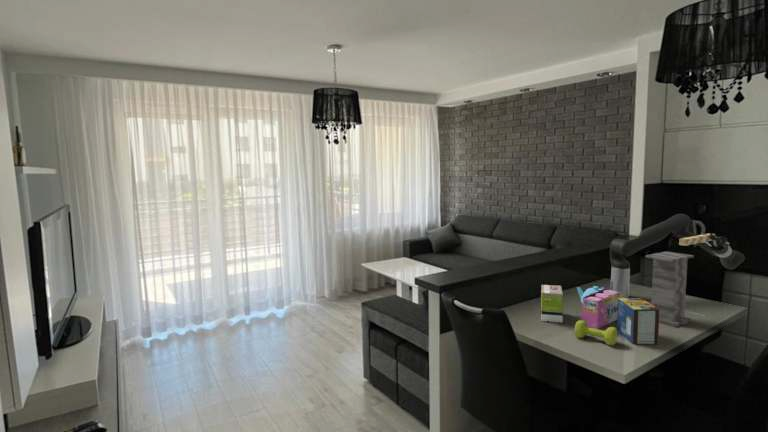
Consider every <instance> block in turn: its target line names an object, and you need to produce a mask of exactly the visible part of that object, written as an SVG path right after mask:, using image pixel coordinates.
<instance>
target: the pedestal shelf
mask: <svg viewBox="0 0 768 432" xmlns="http://www.w3.org/2000/svg"><path fill="white" fill-rule="evenodd" d="M644 257H645V258H647V259H652V281H651V300H650V301H651V302H650V304H652V305H653V306H655V307H657V308H658V309H660V310H659V324H662V325H666V326H668V327H671V328H676V327H680V326H682V325H685V324H688V323H692V318H690V317H687V316H685V308H686V294H687V275H688V259H693V258H694V257H695V256H694V255H693V254H687V253H680V252H673V251H667V250H666V251H662V252H657V253H655V252H654V253H651V254H646V255H645V256H644Z"/></svg>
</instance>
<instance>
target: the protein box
mask: <svg viewBox="0 0 768 432" xmlns="http://www.w3.org/2000/svg"><path fill="white" fill-rule="evenodd" d="M659 310H660V309H658V308H657V307H655V306H653V305H652V304H651V302H649V301H647V300H645V299H644V298H641V297H640V298H638V297H637V298H635V297H632V298H631V297H630V298H618V313H617V320H616V329H617V333H618V334H620V335H621V336H622V337H624V338H625V340H627V341H628V342H629V343H631V344H632V345H659V333H660V332H659V331H660V330H659V329H660V328H659V327H660V323H659Z"/></svg>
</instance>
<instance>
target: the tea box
mask: <svg viewBox="0 0 768 432" xmlns="http://www.w3.org/2000/svg"><path fill="white" fill-rule="evenodd" d="M540 289H541V291H540V294H541V295H540V310H541V311H540V313H541V314H540V319H541V322H547V321H549V322H550V323H559V322H560V323H563V322H564V294H563V288H562V285H556V284H555V285H553V284H552V285H551V284H550V285H549V284H541V288H540ZM549 322H548V323H549Z"/></svg>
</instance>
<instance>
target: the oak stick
mask: <svg viewBox="0 0 768 432" xmlns="http://www.w3.org/2000/svg"><path fill="white" fill-rule="evenodd" d="M710 234H711V233H710V232H709V233H705V234H703V235H701V234H696V235H697V236H692V237H686V238H682V237H680V238H679V239H678V240H679V241H678V245H679V246H685V247H686V246H687V247H688V246H690V245H696V244H697V243H702V242H707V241H712V240H711V239H710V238H709V235H710ZM712 234H713V235H714V236H716V233H712Z"/></svg>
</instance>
